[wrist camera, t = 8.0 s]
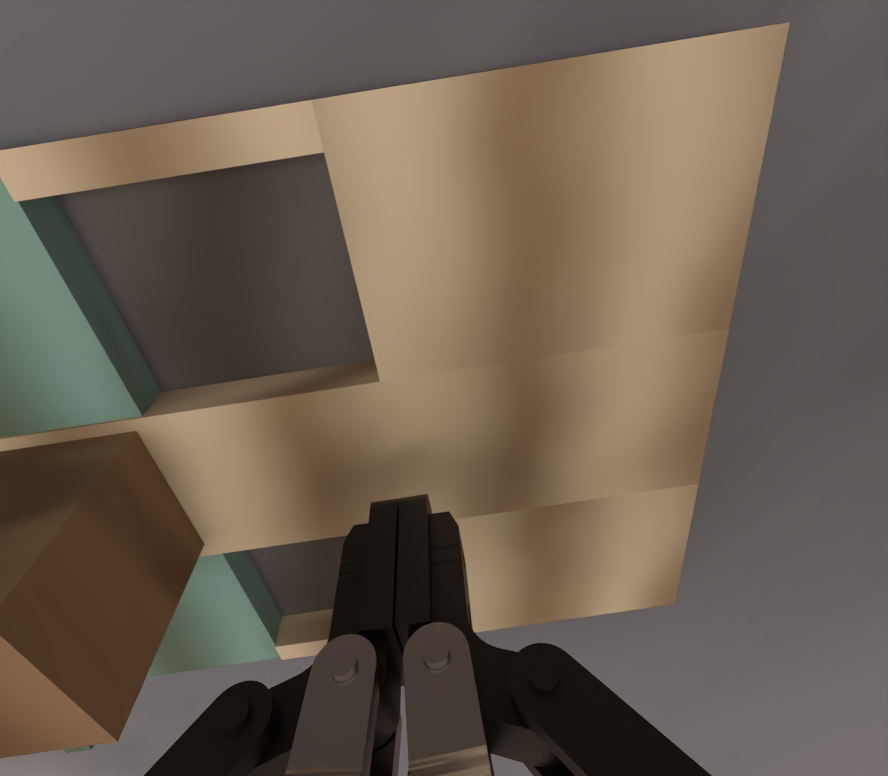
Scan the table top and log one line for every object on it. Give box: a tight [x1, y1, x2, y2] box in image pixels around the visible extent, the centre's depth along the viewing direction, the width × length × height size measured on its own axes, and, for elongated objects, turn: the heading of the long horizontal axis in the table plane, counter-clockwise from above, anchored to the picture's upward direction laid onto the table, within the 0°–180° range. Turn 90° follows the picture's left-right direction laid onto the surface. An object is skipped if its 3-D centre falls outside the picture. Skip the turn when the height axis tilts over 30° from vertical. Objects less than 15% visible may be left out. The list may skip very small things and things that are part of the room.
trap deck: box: [0, 22, 790, 753], centre depth 15 cm, size 25×20×4 cm
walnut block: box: [0, 431, 204, 758], centre depth 13 cm, size 6×5×6 cm
